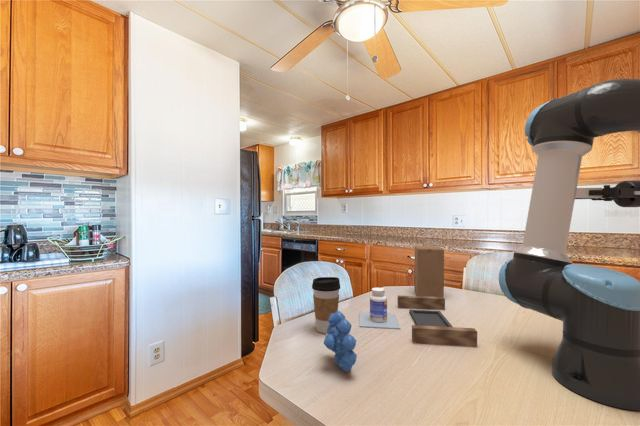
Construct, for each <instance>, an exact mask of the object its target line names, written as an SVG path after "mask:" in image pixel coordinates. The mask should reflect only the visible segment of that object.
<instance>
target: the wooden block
mask: <svg viewBox="0 0 640 426" xmlns="http://www.w3.org/2000/svg"><path fill="white" fill-rule="evenodd" d="M413 271H414V279H413V280H414V285H413V287H414V288H413V289H414V293H415V296H427V297H444V296H445V295H444V293H445V249H444V248H442V247H441V246H439V245H414V270H413ZM444 298H445V297H444Z"/></svg>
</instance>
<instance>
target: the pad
mask: <svg viewBox="0 0 640 426" xmlns="http://www.w3.org/2000/svg"><path fill="white" fill-rule="evenodd" d="M358 318H359V319H358V321H359V325H358V326H359V328H367V329H368V328H371V329H390V330H392V329H393V330H401V326H400V324H399V320H398V318H397V315H396V313H391V312H390V313H389V312H387V320H386V321H385V322H375V321H372V320H371V319H370V311H358Z"/></svg>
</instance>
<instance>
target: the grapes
mask: <svg viewBox="0 0 640 426" xmlns="http://www.w3.org/2000/svg"><path fill="white" fill-rule="evenodd" d="M328 322H329V323H330V325H329V326H328V329H327V333H326V334H327V335H325V338H324V340H323V345H324V346H325V347H326V348H327V349H328V350H330V351H332V353H334V357H333V361H334V363H335V364H336V365H338V366H339V367H340V368H341V370H343V371H344V372H347V373H350V371H351V370H352V368H353V366H354V365H355V364H356V361H357V357H358V355H357V354H356V352H355V351H354V350H355V348H356V345H357V339H356V338H355V337H354V336H353V335H351V334H350V333H351V330H352V324H351V322H349V321H348V320H347V319H346V316H345V315H344V314H343V312H342V311H340V310H338V311H336V312H335V313H332V314H331V315H330V317H329V319H328Z"/></svg>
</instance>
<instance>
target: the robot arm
mask: <svg viewBox="0 0 640 426" xmlns="http://www.w3.org/2000/svg"><path fill="white" fill-rule="evenodd" d="M623 132H624V133H625V132H637V133H639V134H640V78H616V79H615V78H613V79H608V80H604V81H601V82H597V83H595V84H592V85H590V86H587V87H585V88H582V89H580V90H577V91H574V92H571V93H568V94H567V95H564V96H561V97H556V98H552V99H550V100H549V101H547V102H545V103H543V104H541V105H539V106H537V107H536V108H535V109H534V110H532V112H530V114H529V116H528V117H527V119H526V122H525V125H524V136H525V137H527V139H526V141H527V143H528V144H529V145H530V146H532V147H531V149H532V150H531V151H532V152H533V153H534V154H535V155H537V162H536V167H535V171H534V178H533V185H532V190H531V195H530V201H529V206H528V211H527V212H528V213H527V218H526V223H525V229H524V234H523V240H522V245H521V246H520V247H519V248H517V249H515V250H514V252H513V256H512V258H510V259H507V260H506V261H505V262H504V264H502V265H501V267H500V269H499V272H498V285H499V288H500V291H501V292H502V294H503V295H504V297H506V298H507V299H508V300H509V301H510V302H512V303H514V304H516V305H519V306H520V307H522V308H524V309H528V310H532V311H534V312H536V313H540V314H541V315H545V316H548V317H550V318H553V319H556V320H559V321H560V322H561V321H562V339H561V341H560V343H559V345H558V347H557V349H556V351H555V354H554V355H553V357H552V360H551V374H552V376H553V378H554V379H555V380H556V381H558V382H559V383H560V384H561V385H563V386H564V387H565V388H567V389H568V390H571V391H572V392H574V393H576V394H578V395H581V396H582V397H585V398H587V399H590V400H592V401H594V402H597V403H600V404H603V405H605V406H610V407H614V408H618V409H621V410H623V409H624V410H628V411H640V281H639V280H638V279H637V278H636V277H633V276H632V275H629V274H627V273H624V272H621V271H618V270H616V269H615V270H614V269H611V268H606V267H602V266H594V265H590V264H581V263H573V261H572V260H571V258H570V257H569V256H568V255H567V246H568V240H569V235H570V229H571V224H572V223H571V222H572V217H573V211H574V208H575V207H574V205H575V200H591V201H603V202H612V201H613V202H614V203H615V204H616V205H617V206H619V207H621V208H640V180H623V181H620V182H618V183H617V184H616V185H615V186H613V187H611V185H610V184H605V185H603V187H578V183H579V177H580V170H581V165H582V160H583V157H584V156H586V155H587V154H588V153H590V152H591V151H592V150H593V145H594V141H595V138H598V137H604V136H607V135H612V134H616V133H623Z"/></svg>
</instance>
